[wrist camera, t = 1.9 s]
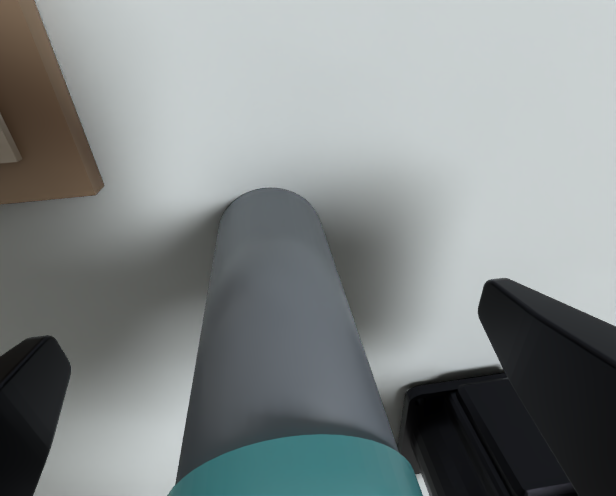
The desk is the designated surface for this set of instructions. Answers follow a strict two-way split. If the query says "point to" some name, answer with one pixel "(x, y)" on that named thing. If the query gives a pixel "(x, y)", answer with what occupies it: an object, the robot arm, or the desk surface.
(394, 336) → the desk surface
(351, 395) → the glue stick
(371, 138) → the desk surface
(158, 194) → the desk surface
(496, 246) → the desk surface
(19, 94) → the clipboard
